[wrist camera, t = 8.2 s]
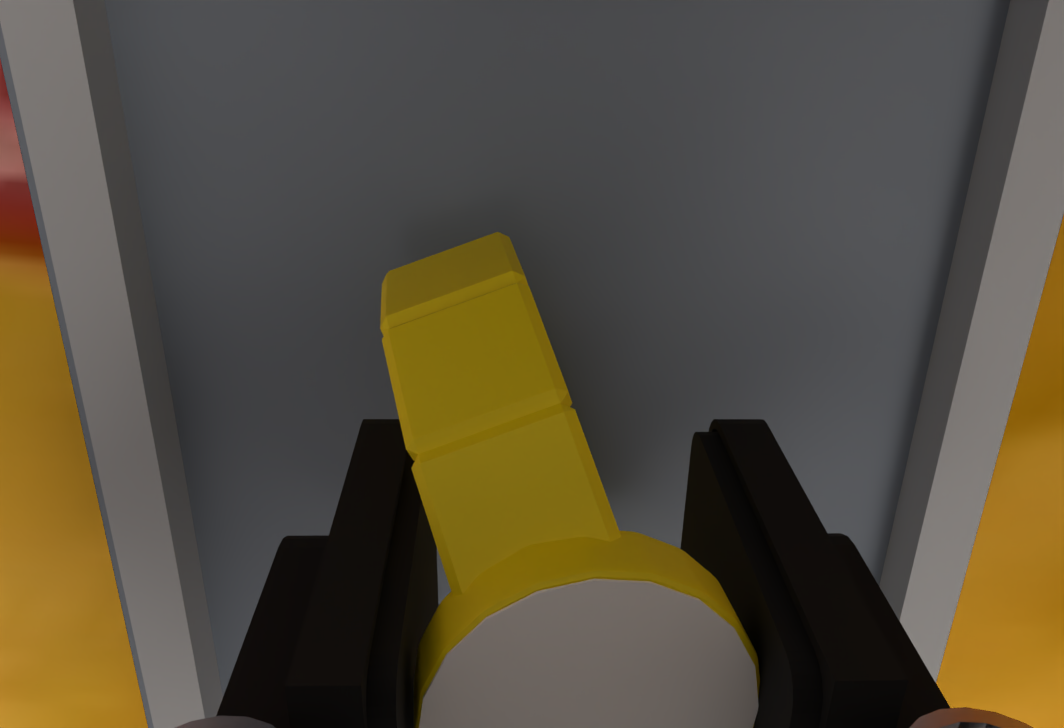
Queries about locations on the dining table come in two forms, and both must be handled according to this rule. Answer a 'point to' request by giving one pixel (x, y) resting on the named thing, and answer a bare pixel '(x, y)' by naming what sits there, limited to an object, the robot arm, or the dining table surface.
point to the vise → (536, 257)
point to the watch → (538, 530)
